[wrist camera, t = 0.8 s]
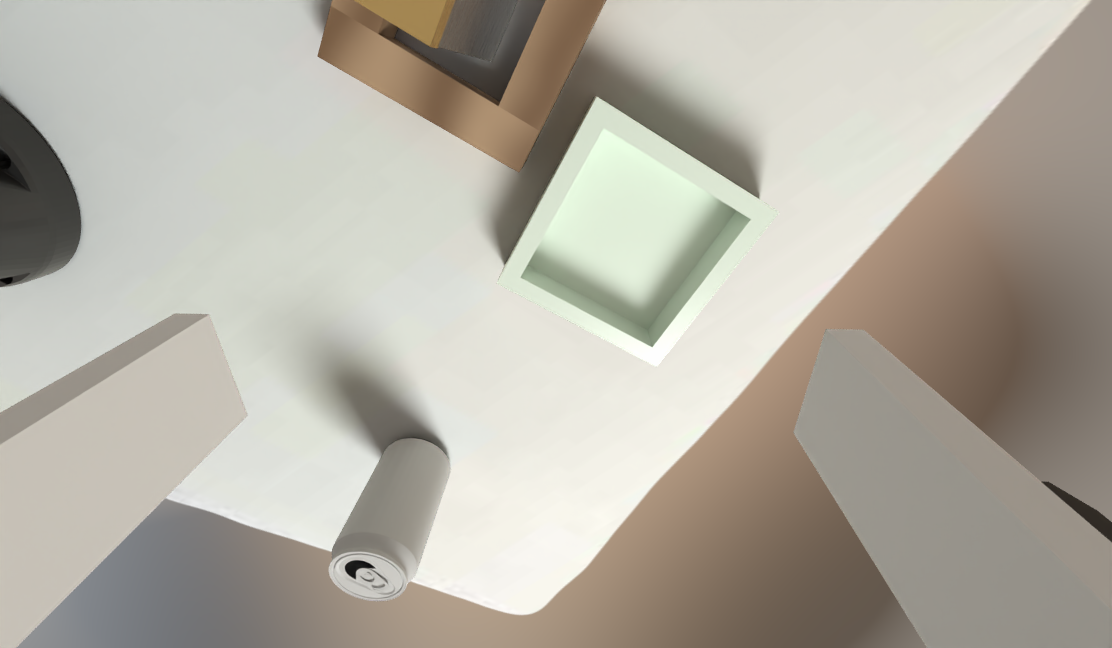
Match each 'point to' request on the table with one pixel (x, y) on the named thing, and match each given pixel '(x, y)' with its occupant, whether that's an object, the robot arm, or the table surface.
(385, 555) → the beverage can
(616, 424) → the table surface
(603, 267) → the bin
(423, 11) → the strut
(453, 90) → the socket block
